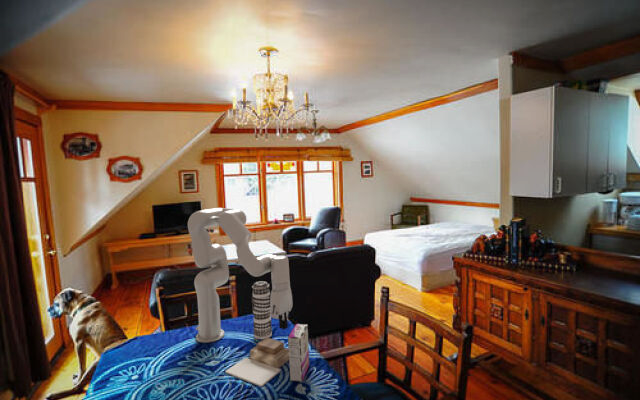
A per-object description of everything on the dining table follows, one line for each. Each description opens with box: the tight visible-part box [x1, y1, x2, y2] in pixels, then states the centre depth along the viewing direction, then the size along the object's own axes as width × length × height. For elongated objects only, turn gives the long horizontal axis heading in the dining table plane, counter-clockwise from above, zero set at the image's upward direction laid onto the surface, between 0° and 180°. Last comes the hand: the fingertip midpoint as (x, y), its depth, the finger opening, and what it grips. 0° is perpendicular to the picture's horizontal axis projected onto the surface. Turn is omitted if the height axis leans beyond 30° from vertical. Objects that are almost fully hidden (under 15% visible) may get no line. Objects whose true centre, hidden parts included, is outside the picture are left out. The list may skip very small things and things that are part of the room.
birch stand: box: [249, 345, 289, 369], centre depth 134 cm, size 14×8×4 cm, turn 59°
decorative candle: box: [250, 280, 273, 340], centre depth 155 cm, size 9×9×25 cm
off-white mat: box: [225, 357, 282, 388], centre depth 126 cm, size 18×11×1 cm, turn 59°
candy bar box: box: [287, 323, 310, 383], centre depth 124 cm, size 11×5×16 cm, turn 168°
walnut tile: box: [256, 337, 285, 355], centre depth 134 cm, size 9×6×2 cm, turn 59°
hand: (283, 327), depth 141 cm, fingers closed
